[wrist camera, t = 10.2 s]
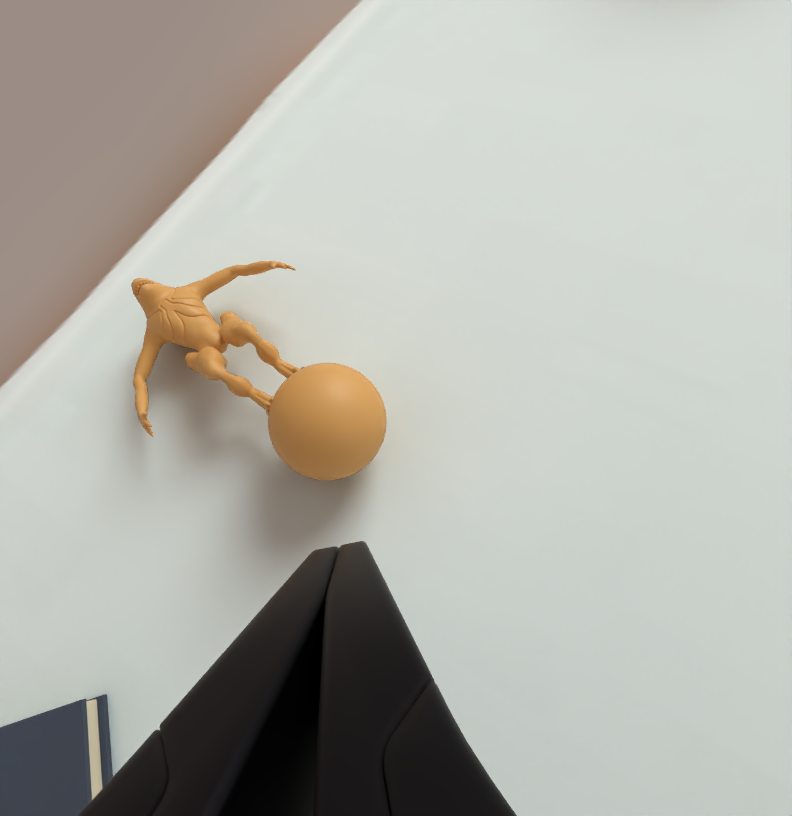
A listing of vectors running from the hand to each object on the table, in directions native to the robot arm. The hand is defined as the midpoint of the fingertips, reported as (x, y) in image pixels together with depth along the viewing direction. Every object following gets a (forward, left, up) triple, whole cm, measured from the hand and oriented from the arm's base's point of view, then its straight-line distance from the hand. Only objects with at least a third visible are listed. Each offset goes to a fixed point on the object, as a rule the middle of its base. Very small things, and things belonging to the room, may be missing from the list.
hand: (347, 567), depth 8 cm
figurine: (+4, 0, -9) cm, 10 cm away
